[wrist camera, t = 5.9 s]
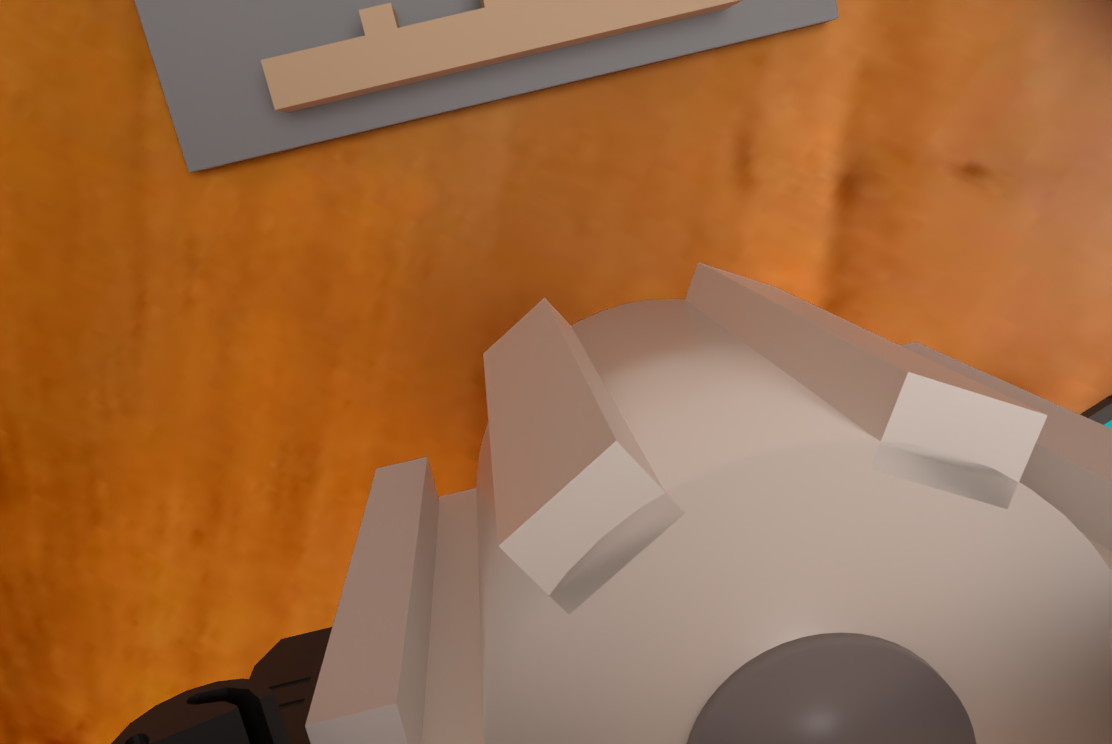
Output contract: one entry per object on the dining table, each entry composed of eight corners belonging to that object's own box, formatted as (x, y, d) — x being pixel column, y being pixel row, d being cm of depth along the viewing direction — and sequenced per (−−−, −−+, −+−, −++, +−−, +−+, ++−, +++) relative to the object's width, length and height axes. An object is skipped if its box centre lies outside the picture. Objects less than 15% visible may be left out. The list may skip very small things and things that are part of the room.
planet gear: (496, 716, 16) (519, 1181, 9) (396, 331, 14) (327, 518, 7) (899, 617, 16) (1240, 992, 9) (843, 229, 14) (1201, 311, 7)
